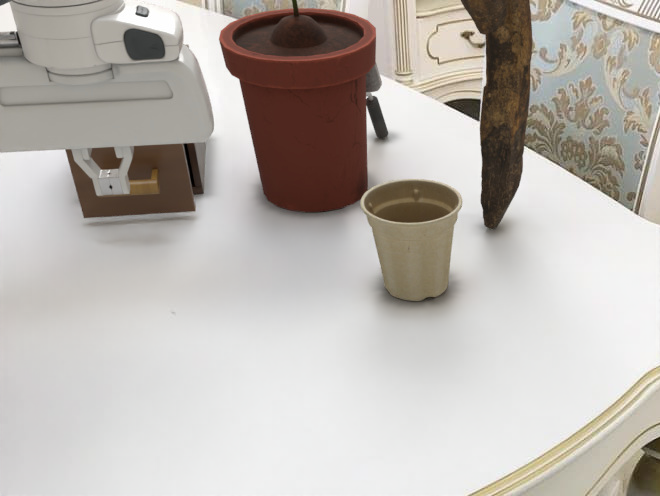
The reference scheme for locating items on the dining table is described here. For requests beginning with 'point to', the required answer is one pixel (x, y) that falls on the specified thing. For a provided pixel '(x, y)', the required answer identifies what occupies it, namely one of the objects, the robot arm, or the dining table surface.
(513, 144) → the sculpture
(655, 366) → the dining table surface
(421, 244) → the flower pot
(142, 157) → the drawer
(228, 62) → the potted plant
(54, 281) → the dining table surface
